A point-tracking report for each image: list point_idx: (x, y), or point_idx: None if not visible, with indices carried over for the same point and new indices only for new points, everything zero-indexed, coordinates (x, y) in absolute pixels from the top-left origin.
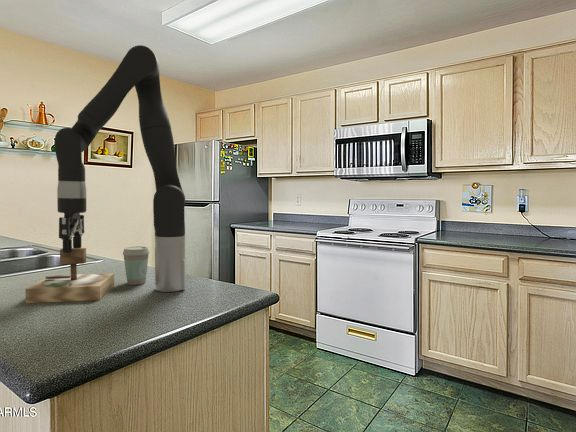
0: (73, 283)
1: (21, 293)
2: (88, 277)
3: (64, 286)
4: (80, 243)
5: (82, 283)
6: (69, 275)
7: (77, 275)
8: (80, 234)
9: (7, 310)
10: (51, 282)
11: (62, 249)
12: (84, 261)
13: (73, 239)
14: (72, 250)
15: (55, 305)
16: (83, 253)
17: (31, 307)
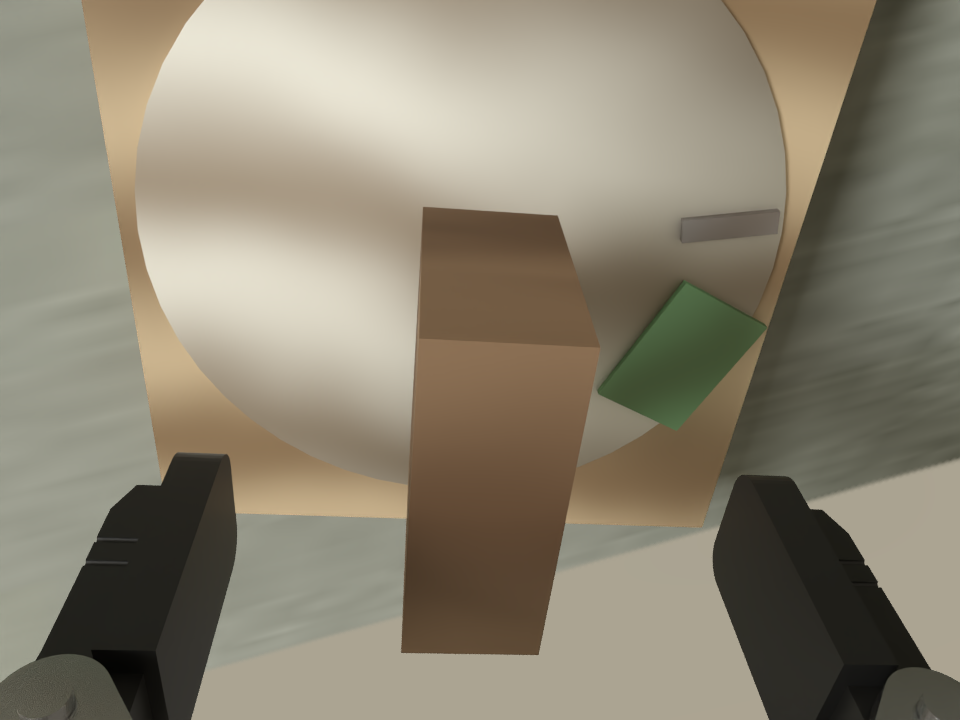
0: (670, 208)
1: (365, 551)
2: (366, 108)
3: (774, 264)
4: (205, 519)
5: (708, 107)
6: (219, 347)
7: (224, 266)
8: (131, 713)
9: (814, 488)
10: None
11: (543, 628)
12: (517, 224)
13: (196, 697)
14: (563, 497)
15: (840, 239)
16: (584, 299)
17: (811, 383)
